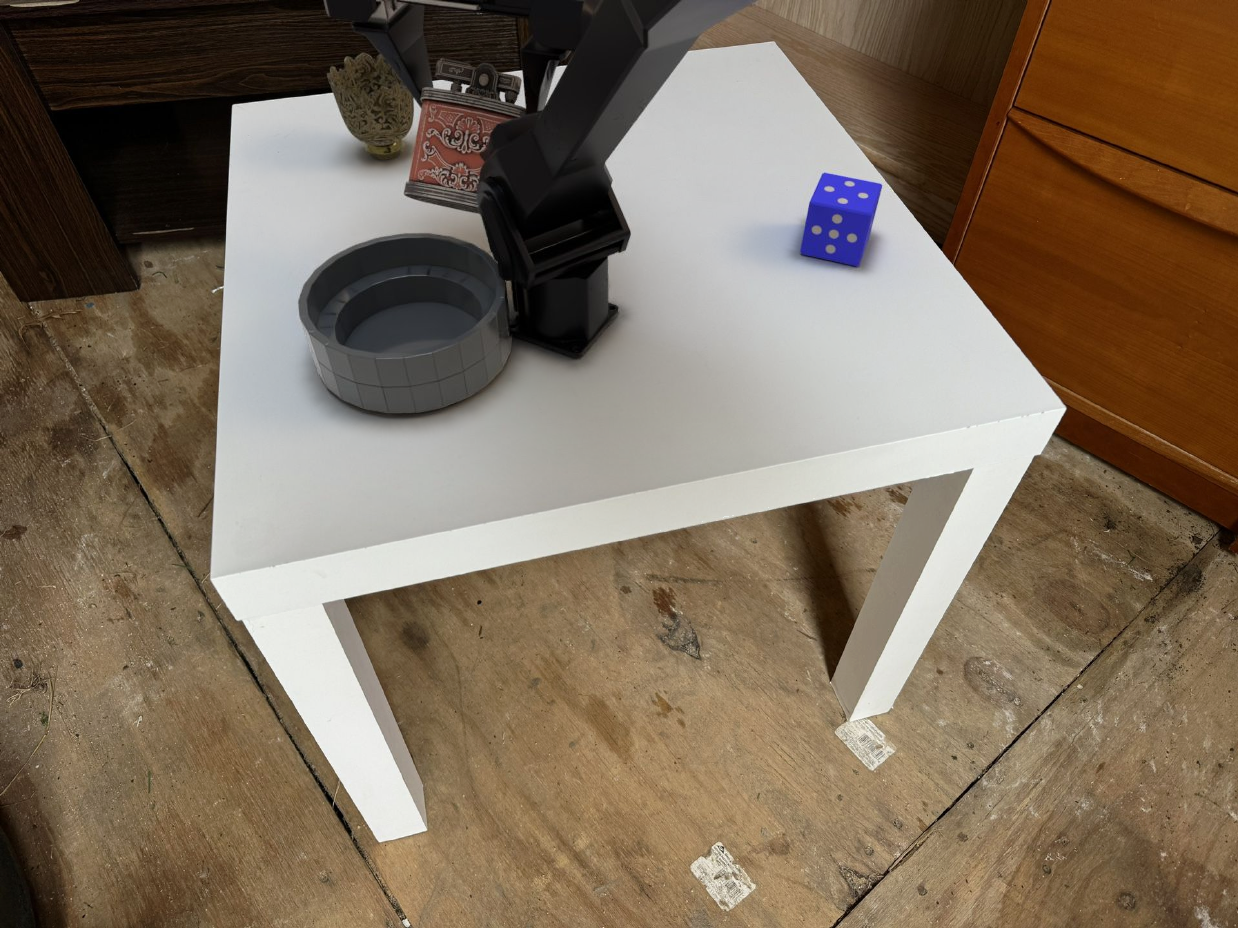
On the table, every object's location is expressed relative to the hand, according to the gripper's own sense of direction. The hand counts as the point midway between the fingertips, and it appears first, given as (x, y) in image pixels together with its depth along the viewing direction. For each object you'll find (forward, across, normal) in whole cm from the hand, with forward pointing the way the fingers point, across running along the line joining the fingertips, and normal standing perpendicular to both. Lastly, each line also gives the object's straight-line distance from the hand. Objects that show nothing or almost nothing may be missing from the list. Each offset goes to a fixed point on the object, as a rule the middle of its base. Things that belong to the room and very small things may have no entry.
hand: (482, 119), depth 65 cm
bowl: (+12, +1, +13) cm, 18 cm away
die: (+12, -27, -10) cm, 31 cm away
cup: (+12, +16, -12) cm, 24 cm away
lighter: (+4, 0, +6) cm, 7 cm away
